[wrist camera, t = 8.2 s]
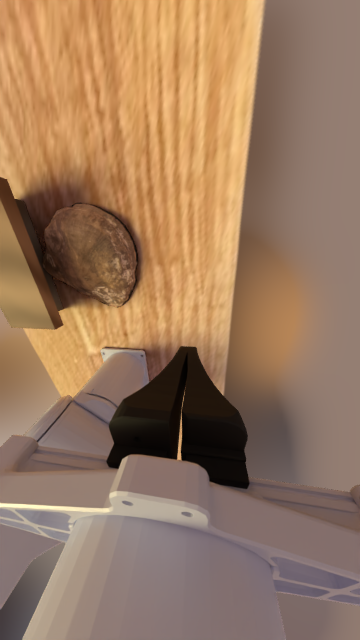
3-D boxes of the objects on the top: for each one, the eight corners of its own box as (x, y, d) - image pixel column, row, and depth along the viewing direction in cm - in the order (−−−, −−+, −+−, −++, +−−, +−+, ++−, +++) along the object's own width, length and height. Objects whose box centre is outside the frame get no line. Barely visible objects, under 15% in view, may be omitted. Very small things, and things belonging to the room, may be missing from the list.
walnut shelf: (91, 309, 23) (55, 329, 18) (56, 308, 24) (11, 327, 18) (59, 198, 18) (-11, 173, 12) (15, 201, 18) (-72, 178, 12)
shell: (60, 178, 17) (27, 161, 14) (156, 242, 19) (147, 241, 16) (45, 268, 22) (19, 271, 19) (123, 313, 24) (111, 323, 20)
